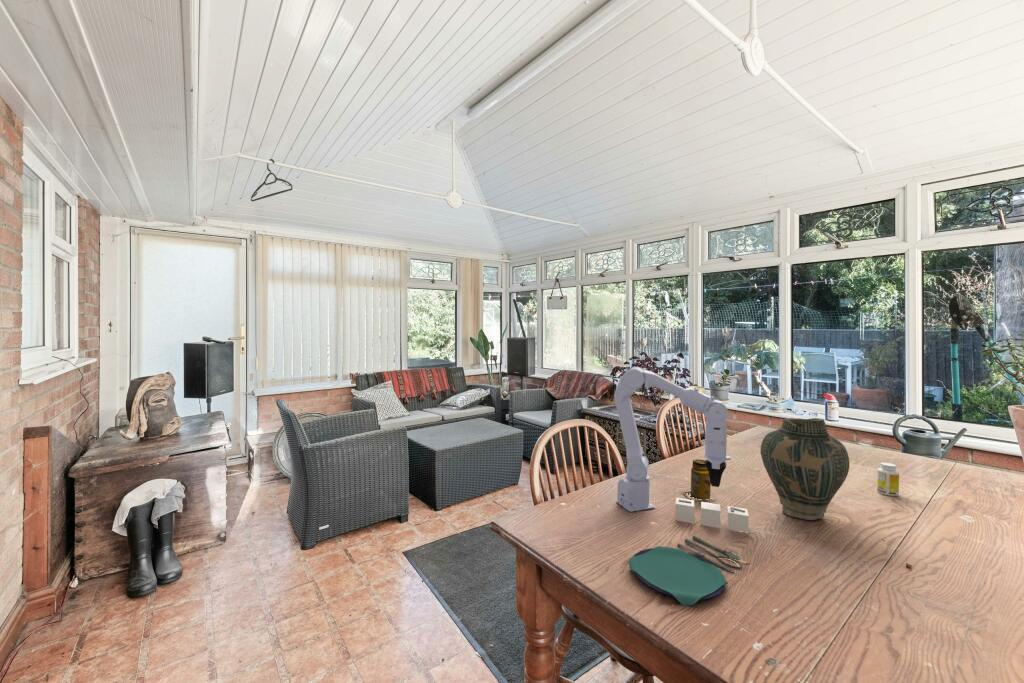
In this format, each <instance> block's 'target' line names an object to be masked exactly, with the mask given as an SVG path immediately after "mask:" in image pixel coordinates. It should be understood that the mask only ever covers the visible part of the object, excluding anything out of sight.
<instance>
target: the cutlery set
mask: <svg viewBox="0 0 1024 683" xmlns="http://www.w3.org/2000/svg"><path fill="white" fill-rule="evenodd" d="M691 537H692V540H693V541H692V540H690V539H689V538H685V539H684V543H687V544H689V545H691V546H694V547H695V548H698V549H701V550H702V551H704V552H706V553H708V554H710V555H711V556H713V557H715V558H717V559H718V560H719V562H720V563H719V562H718V561H715V560H713V559H711V558H708V557H707V556H705V555H706V554H705V553H704V554H703V553H701V552H700V551H696V550H693V549H691V548H688V547H686V546H684V545H683V544H681V543H680V542H678V543H677V547H681V548H683V549H681V548H676V547H671V546H661V545H657V546H655V547H654V548H653V547H651V548H646V549H642V550H640V551H638V552H636V553H635V554H633V556H632V557H630V558H629V560H628V564H629V571H630V572H633V573H634V575H635V576H636V577H637V579H638V580H640V581H641V582H642V583H643V584H644V585H646V586H647V587H649V588H651V589H653V590H655V591H656V592H659V593H661V594H663V595H667V596H670V597H673V598H675V599H676V600H677V601H678V602H679V603H680V604H681V605H682V606H685V607H686V606H687V607H690V606H693V605H695V604H696V603H697V602H698V601H701V600H702V601H704V600H710V599H713V598H715V597H718V596H720V595H721V594H722V592H724V590H725V586H726V585H728V582H727V580H726V578H725V576H724V574H723V572H722V570H721V569H723V568H724V569H723V570H725V569H726V570H725V571H727V570H729V571H733V572H732V573H735V570H733V569H732V568H736V566H735V565H734V566H733V565H731V564H729V563H727V562H724V561H723V560H722V559H719V558H727V559H731V558H733V559H736V560H740V559H738V558H741V557H740V556H738V555H736V554H735V553H732V551H730V550H729V551H728V550H727V549H722V548H720V547H717V546H715V545H713V544H711V543H709V542H707V541H705V540H704V539H702V538H699V537H698V536H696V535H692V536H691ZM694 541H697V542H698V543H701V544H702V545H704V546H705V547H708V548H710V547H711V549H712V548H713V549H712V550H714V549H715V551H718V552H721V553H724V554H723V555H721V554H720V555H719V554H716V553H714V552H712V551H711V550H708V549H707V548H705V547H703V546H701V545H699V544H697V543H696V542H694ZM684 549H686V550H687V551H689V552H687V551H685V550H684ZM690 552H692V553H693V554H692V553H690ZM694 554H695V555H694ZM725 554H726V555H725ZM726 556H728V557H726ZM729 557H731V558H729ZM702 558H703V559H702ZM727 559H726V560H727ZM733 559H731V560H733ZM736 560H733V561H735V562H736V563H738V564H739V565H740V567H738V568H742V567H743V565H742V563H740V562H738V561H736ZM721 563H722V564H721ZM725 564H727V565H726V566H725ZM728 565H730V566H728ZM727 566H728V567H727ZM731 566H732V567H731ZM718 567H719V568H718ZM721 567H722V568H721ZM729 567H731V568H729ZM738 568H737V569H738ZM729 571H728V572H729Z"/></svg>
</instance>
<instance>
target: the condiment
mask: <svg viewBox="0 0 1024 683" xmlns="http://www.w3.org/2000/svg"><path fill="white" fill-rule="evenodd" d="M705 460H706V459H705ZM705 460H704V459H693V460H692V467H691V470H690V491H680V493H681V494H682V493H683V494H684V493H685V495H684V496H685V497H686V493H688V495H689V493H691V496H690V497H691V498H689V497H688V498H687V499H689V500H690V499H691V500H692V499H693V498H692V497H694V498H697V500H696V499H693V500H694V502H695V501H696V502H699V501H700V502H701V501H707V500H706V499H710V496H711V487H712V486H711V483H710V477H709V472H708V469H707V467H706V465H705ZM683 494H682V495H683ZM712 498H713V499H712V500H711V501H716V500H717V499H716V498H714V497H712ZM698 499H702V500H698Z"/></svg>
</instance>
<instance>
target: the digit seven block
mask: <svg viewBox="0 0 1024 683" xmlns="http://www.w3.org/2000/svg"><path fill="white" fill-rule="evenodd" d="M726 506H727V510H726V511H727V512H726V523H727V524H726V525H728V526H727V530H728V529H730V530H729V531H731V530H736V531H743V532H748V533H749V529H750V528H749V527H750V526H749V525H750V523H749V522H750V520H749V519H750V515H749V511H748V508H742V507H736V506H730V505H726ZM736 531H735V532H736Z"/></svg>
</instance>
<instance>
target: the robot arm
mask: <svg viewBox="0 0 1024 683" xmlns="http://www.w3.org/2000/svg"><path fill="white" fill-rule="evenodd" d="M643 385H644V388H652V387H653V388H654V387H655V388H657V389H659V390H662V391H663V392H665V393H668V394H670V395H672V396H674V397H677V398H679V401H680V403H681V405H683V406H685V407H687V408H689V409H691V410H693V411H695V412H697V413H699V414H702V415H706V419H705V420H706V424H705V430H704V431H705V434H704V435H705V438H704V440H705V442H704V443H705V444H704V454H703V456H704V458H705V465H706V467H707V469H708V472H709V477H710V483H711V485H710V486H711V487H715V488H720V484H721V480H722V478H723V477H722V476H723V473H724V471H725V470H726V468H727V462H726V461H731V459H732V458H731V456H729V455H727V434H728V433H727V432H728V430H727V429H728V428H727V422H728V421H727V419H728V418H729V414H730V413H729V412H728V408H727V406H726V405H725V403H724V402H722V401H720V399H718V398H715V396H712V395H711V396H709V395H707V394H705V393H703V392H701V391H700V389H699V388H697V387H694V388H692V387H685V388H684V387H682V386H680V385H677V384H675V383H674V382H672V381H670V380H668V379H666V378H665V377H663V376H660V375H659V374H657V373H655V372H653V371H650V370H647V369H644V368H642V367H639V366H633V367H630V368H629V369H627V371H625V372H624V373H623V374H622V375H621V377H620V379H619V381H618V383H617V386H616V389H615V392H614V394H613V396H614V402H615V406H616V411H617V415H618V419H619V423H620V428H621V432H622V436H623V441H624V446H625V451H626V462H627V464H626V469H625V470H626V474H625V477H623V478H621V479H619V480H618V483H617V500H616V501H615V502H616V503H617V502H618V503H619V504H618V503H617V504H618V505H620V506H621V505H622V506H623V508H624V509H625V510H626V511H628V512H629V513H631V512H638V511H644V510H645V511H646V510H650V509H655V508H656V506H655V505H653V504H652V503H650V476H649V474H648V470H649V467H650V461H649V458H648V457H647V456H646V454H645V453H644V449H643V447H642V444H641V440H640V436H639V431H638V428H637V422H636V419H635V413H634V409H633V406H632V402H631V397H632V395H634V393H635V391H637V390H639V389H640V388H641V387H642V386H643ZM622 506H621V507H622Z"/></svg>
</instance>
